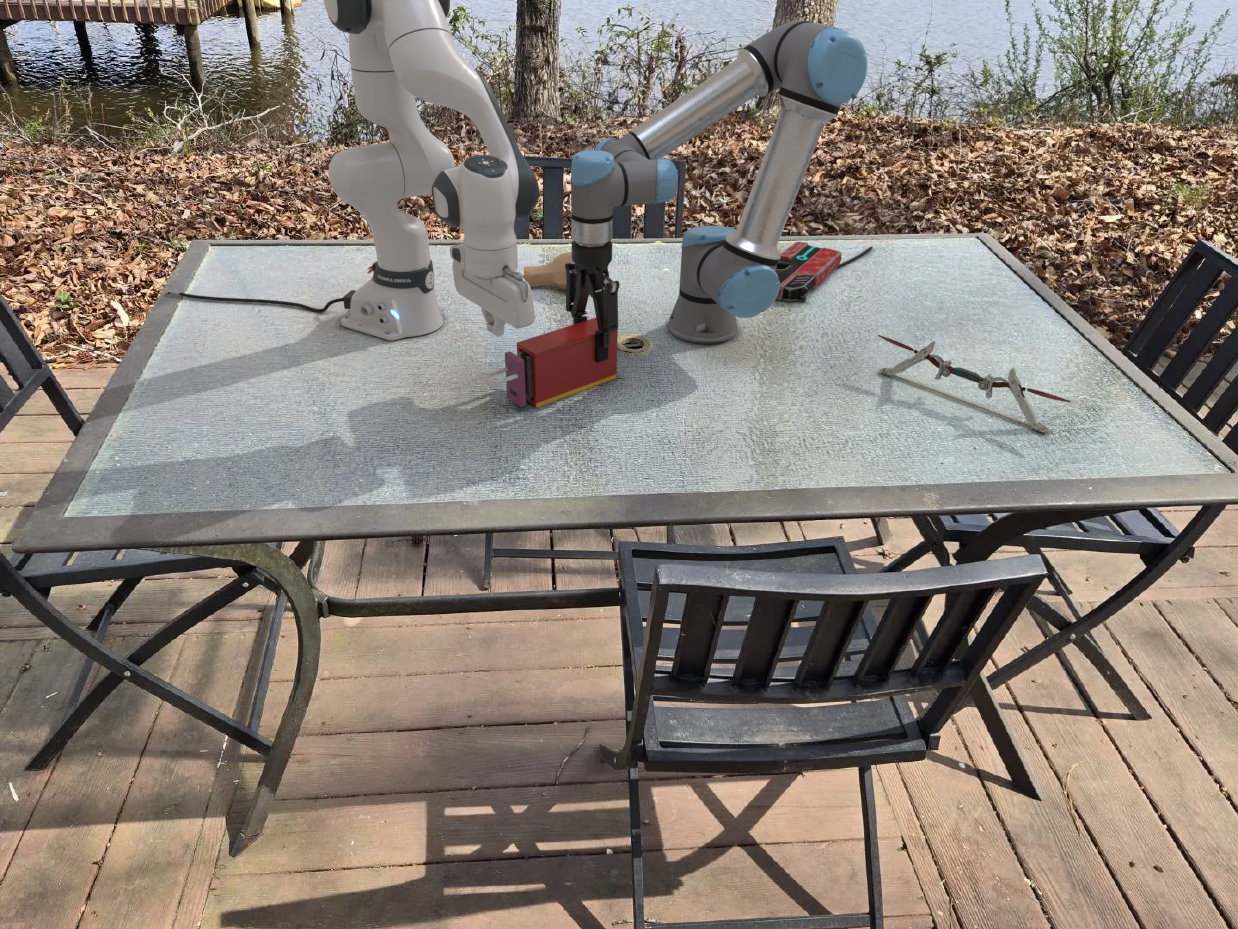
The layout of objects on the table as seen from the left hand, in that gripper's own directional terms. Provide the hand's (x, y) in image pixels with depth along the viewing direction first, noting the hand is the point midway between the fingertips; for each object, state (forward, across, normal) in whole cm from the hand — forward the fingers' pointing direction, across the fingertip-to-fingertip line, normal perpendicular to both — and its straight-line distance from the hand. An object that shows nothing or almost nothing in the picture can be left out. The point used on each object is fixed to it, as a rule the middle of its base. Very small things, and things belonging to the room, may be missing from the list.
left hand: (495, 333), depth 156 cm
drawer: (+15, 0, -9) cm, 18 cm away
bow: (+16, -51, -74) cm, 91 cm away
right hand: (+11, 0, -22) cm, 24 cm away
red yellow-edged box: (+16, 0, -16) cm, 23 cm away
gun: (+16, +12, -96) cm, 98 cm away
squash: (+16, +41, -46) cm, 63 cm away
